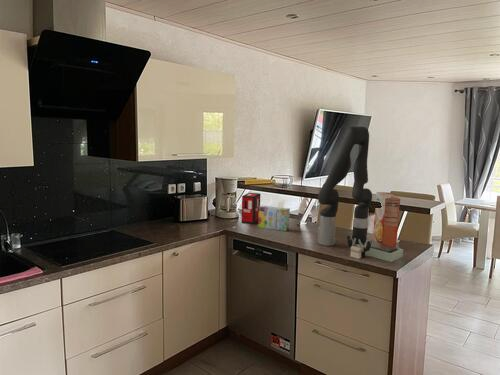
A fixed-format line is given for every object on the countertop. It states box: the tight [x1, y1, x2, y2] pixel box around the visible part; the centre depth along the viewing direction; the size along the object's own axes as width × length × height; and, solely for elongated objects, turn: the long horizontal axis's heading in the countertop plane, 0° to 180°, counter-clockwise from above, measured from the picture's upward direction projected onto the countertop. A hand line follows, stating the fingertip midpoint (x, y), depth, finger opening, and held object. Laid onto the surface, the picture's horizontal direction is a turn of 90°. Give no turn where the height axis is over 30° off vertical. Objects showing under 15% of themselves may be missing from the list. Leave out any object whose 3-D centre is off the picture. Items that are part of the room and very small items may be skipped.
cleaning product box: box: [241, 192, 261, 225], centre depth 279 cm, size 16×9×20 cm, turn 163°
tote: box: [365, 241, 404, 263], centre depth 206 cm, size 18×13×5 cm
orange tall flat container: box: [372, 191, 401, 247], centre depth 228 cm, size 23×8×30 cm, turn 174°
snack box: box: [257, 204, 291, 232], centre depth 259 cm, size 21×6×15 cm, turn 63°
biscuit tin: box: [370, 242, 398, 253], centre depth 205 cm, size 12×9×5 cm
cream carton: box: [350, 244, 367, 259], centre depth 203 cm, size 5×7×6 cm
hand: (358, 256), depth 203 cm, fingers closed on cream carton, 5 cm apart
